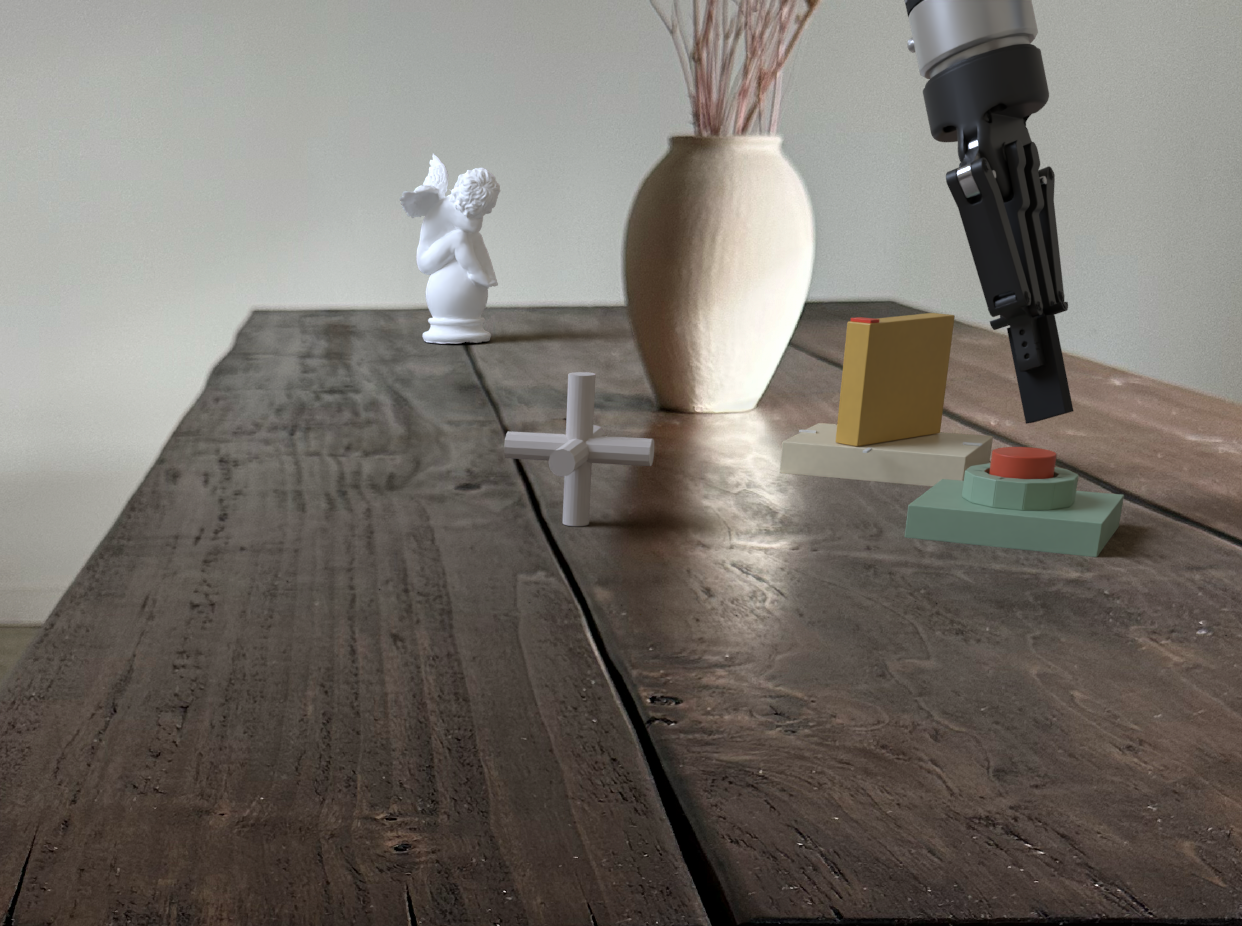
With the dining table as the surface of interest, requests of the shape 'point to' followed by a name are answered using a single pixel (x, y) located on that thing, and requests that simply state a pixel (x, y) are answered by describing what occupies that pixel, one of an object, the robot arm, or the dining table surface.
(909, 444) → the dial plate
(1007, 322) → the robot arm
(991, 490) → the button box
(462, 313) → the cherub figurine
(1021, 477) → the button
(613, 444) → the pipe connector
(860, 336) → the tan flat block
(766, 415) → the dining table surface
